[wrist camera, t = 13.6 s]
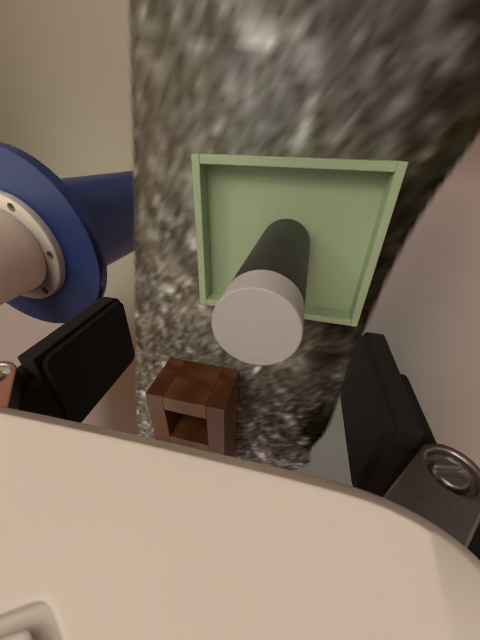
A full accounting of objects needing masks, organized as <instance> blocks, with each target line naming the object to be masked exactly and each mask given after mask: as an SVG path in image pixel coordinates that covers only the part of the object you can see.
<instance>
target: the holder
mask: <svg viewBox="0 0 480 640" xmlns="http://www.w3.org/2000/svg"><path fill="white" fill-rule="evenodd" d="M238 374H239V371H236V370H231V369H226V368H221V367H216V366H211V365H205V364H200V363H195V362H190V361H184V360H178V359H173V358H170V359H169V361H168V362H167V364H166V365H165V366H164V368H163V369H162V371H161V372H160V374H159V375H158V376H157V378H156V379H155V381H154V382H153V383H152V385H151V386H150V388H149V389H148V390H147V392H146V398H147V402H148V407H149V411H150V415H151V419H152V424H153V428H154V432H155V436H156V440H160V441H164V442H169V443H173V444H178V445H182V446H187V447H191V448H195V449H200V450H204V451H209V452H213V453H217V454H222V455H226V456H230V457H234V454H235V450H236V437H237V405H238Z"/></svg>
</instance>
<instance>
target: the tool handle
mask: <svg viewBox="0 0 480 640" xmlns="http://www.w3.org/2000/svg"><path fill="white" fill-rule="evenodd" d="M309 250H310V238H309V234H308V232H307V230H306V228H305V227H304V226H303V225H302V224H301V223H299V222H298V221H295V220H292V219H280V220H277V221H275V222H273V223H271V224H270V225H269V226H268V227H267V228H266V229H265V231H264V232H263V234H262V236H261V237H260V239H259V240H258V242H257V243H256V245H255V246H254V248H253V249H252V251H251V252H250V254H249V255H248V257H247V258H246V260H245V261H244V263H243V265H242V266H241V268H240V269H239V271H238V272H237V274H236V275H235V277H234V278H233V280H232V281H231V283H230V284H229V286H228V287H227V289H226V290H225V292H224V294H223V295H222V297H221V298H220V300H219V301H218V303H217V304H216V306H215V308H214V311H213V314H212V329H213V333H214V335H215V338H216V339H217V341H218V343H219V344H220V346H221V347H222V348H223V349H224V350H225V351H226V352H227V353H228V354H230V355H231V356H233V357H234V358H236V359H238V360H240V361H242V362H245V363H248V364H253V365H272V364H277V363H280V362H282V361H284V360H286V359H288V358H289V357H290V356H291V355H293V354H294V353H295V351H296V350H297V349H298V347H299V346H300V343H301V341H302V337H303V327H304V314H305V301H306V289H307V276H308V263H309Z"/></svg>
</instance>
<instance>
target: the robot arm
mask: <svg viewBox="0 0 480 640" xmlns="http://www.w3.org/2000/svg"><path fill="white" fill-rule="evenodd" d="M65 274H66V268H65V260H64V257H63V254H62V250H61V248H60V246H59V244H58V241H57V239H56V238H55V236H54V235H53V233H52V231H51V230H50V228H49V227H48V226H47V224H46V223H45V222H44V221H43V219H42V218H41V217H40V216H39V215H38V214H37V213H36V212H35V211H34V210H33V209H32V208H31V207H29V206H28V205H27V204H26V203H24V202H23V201H22V200H20V199H18V198H17V197H15V196H13V195H12V194H9V193H7V192H4V191H2V190H0V305H1V304H3V303H6V302H8V301H10V300H12V299H14V298H16V297H18V296H20V295H22V296H25V297H29V298H36V299H41V298H46V297H48V296H50V295H52V294H54V293H56V292H57V291H59V290H60V288H61V287H62V285H63V283H64V280H65ZM134 356H135V352H134V348H133V344H132V340H131V336H130V331H129V327H128V323H127V318H126V314H125V310H124V306H123V304H122V303H121V302H120V301H119V300H118V299H116V298H109V297H102V298H100V299H99V300H97V301H96V302H94V303H93V304H92V305H90V306H89V307H87V308H86V309H85V310H83V311H82V312H80V313H79V314H78V315H76V316H75V317H73V318H72V319H70V320H69V321H68V322H66V323H65V324H63V325H62V326H61V327H59V328H58V329H56V330H55V331H54V332H52V333H51V334H49V335H48V336H47V337H45V338H44V339H42V340H41V341H39V342H38V343H37V344H35V345H34V346H32V347H31V348H30V349H28V350H27V351H25V352H24V353H22V354H21V355H20V356H18V359H19V361H20V363H21V365H20V366H19V367H18V368H17V367H16V365H15V364H14V363H12V362H8V361H0V640H480V469H479V467H478V466H477V465H476V464H475V463H474V462H473V461H472V460H470V459H469V458H468V457H467V456H465V455H464V454H462V453H461V452H459V451H457V450H455V449H453V448H451V447H448V446H445V445H443V444H437V443H436V441H435V439H434V437H433V434H432V432H431V430H430V428H429V425H428V423H427V421H426V418H425V416H424V414H423V411H422V409H421V407H420V405H419V402H418V400H417V398H416V396H415V394H414V391H413V389H412V387H411V384H410V382H409V380H408V378H407V377H406V376H405V375H403V374H400V372H399V370H398V368H397V366H396V363H395V360H394V358H393V355H392V353H391V351H390V348H389V346H388V343H387V341H386V339H385V336H384V335H382V334H375V333H368V332H366V333H365V334H364V336H361V335H359V336H358V338H357V341H356V344H355V347H354V351H353V354H352V357H351V360H350V363H349V366H348V369H347V372H346V375H345V378H344V381H343V384H342V388H341V394H340V397H341V405H342V413H343V420H344V427H345V435H346V443H347V450H348V458H349V465H350V473H351V481H352V485H353V487H352V486H348V485H344V484H341V483H338V482H334V481H331V480H326V479H323V478H318V477H315V476H310V475H306V474H302V473H298V472H294V471H290V470H286V469H282V468H278V467H274V466H269V465H265V464H261V463H256V462H252V461H248V460H243V459H239V458H235V457H230V456H226V455H222V454H217V453H213V452H209V451H204V450H200V449H195V448H191V447H187V446H182V445H178V444H173V443H169V442H164V441H160V440H155V439H151V438H146V437H142V436H137V435H133V434H128V433H124V432H119V431H115V430H111V429H106V428H101V427H96V426H92V425H88V424H83V423H81V422H82V421H83V420H84V419H85V417H86V416H87V415H88V414H89V413H90V412H91V410H92V409H93V408H94V407H95V406H96V404H97V403H98V402H99V401H100V400H101V398H102V397H103V396H104V395H105V393H106V392H107V391H108V390H109V389H110V388H111V386H112V385H113V384H114V383H115V382H116V380H117V379H118V378H119V377H120V376H121V374H122V373H123V372H124V371H125V370H126V368H127V367H128V366H129V365H130V364H131V362H132V361H133V359H134ZM355 487H356V488H355Z"/></svg>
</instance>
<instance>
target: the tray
mask: <svg viewBox="0 0 480 640" xmlns="http://www.w3.org/2000/svg"><path fill="white" fill-rule="evenodd" d="M191 157H192V173H193V190H194V206H195V223H196V239H197V255H198V272H199V288H200V304H204V305H206V304H207V305H211V306H216V304H217V303H218V301H219V300H220V298H221V297H222V295H223V294H224V292H225V290H226V289H227V287H228V286H229V284H230V283H231V281H232V280H233V278H234V277H235V275H236V274H237V272H238V271H239V269H240V268H241V266H242V265H243V263H244V261H245V260H246V258H247V257H248V255H249V254H250V252H251V251H252V249H253V248H254V246H255V245H256V243H257V242H258V240H259V239H260V237H261V236H262V234H263V232H264V231H265V229H266V228H267V227H268V226H269V225H270V224H271V223H273V222H275V221H277V220H280V219H292V220H295V221H298V222H299V223H301V224H302V225H303V226H304V227H305V228H306V230H307V232H308V234H309V238H310V250H309V263H308V276H307V289H306V301H305V314H304V319H307V320H314V321H320V322H327V323H334V324H341V325H348V326H349V325H350V326H355V327H357V324H358V321H359V318H360V315H361V312H362V309H363V305H364V302H365V299H366V296H367V293H368V289H369V286H370V283H371V280H372V277H373V274H374V270H375V267H376V264H377V261H378V258H379V255H380V251H381V248H382V245H383V242H384V239H385V236H386V232H387V229H388V226H389V223H390V220H391V216H392V213H393V210H394V207H395V204H396V201H397V197H398V194H399V191H400V188H401V185H402V182H403V178H404V175H405V172H406V169H407V166H408V162H405V161H392V160H364V159H337V158H309V157H281V156H253V155H226V154H191Z"/></svg>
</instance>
